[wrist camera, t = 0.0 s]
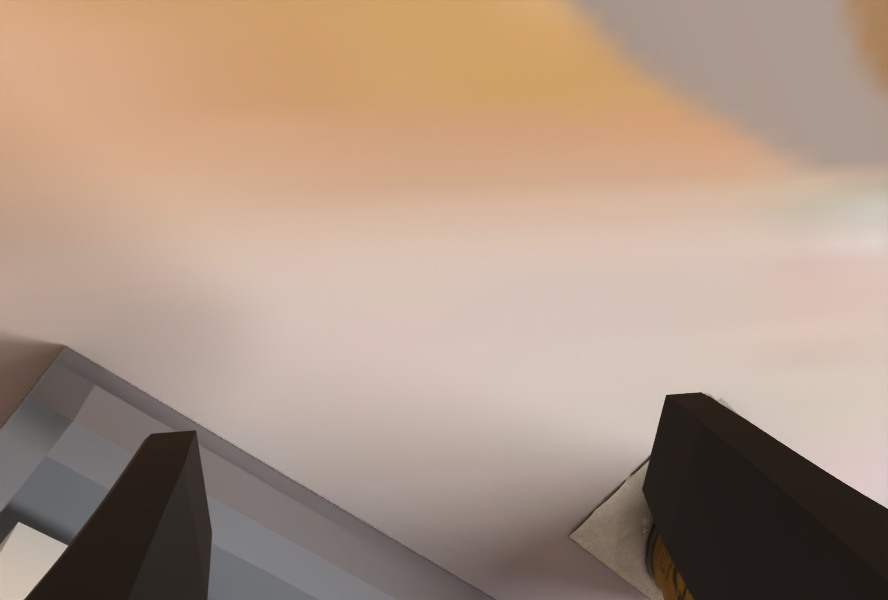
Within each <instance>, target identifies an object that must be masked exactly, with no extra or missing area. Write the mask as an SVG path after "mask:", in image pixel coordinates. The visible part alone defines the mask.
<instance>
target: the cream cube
mask: <svg viewBox="0 0 888 600" xmlns="http://www.w3.org/2000/svg"><path fill="white" fill-rule="evenodd" d="M67 547H68V545H66V544H64V543H62V542H59V541H57V540H55V539H53V538H51V537H49V536H47V535H45V534H43V533H41V532H39V531H37V530H35V529H32V528H30V527H28V526H26V525H24V524H22V523H20V522H18V523H17V524H16V526H15V527H14V528H13V529H12V530H11V532H10V533H9V534H8V535H7V537H6V538H5V539H4V540H3V542H2V543H1V544H0V600H24V599H25V598H26V597H27V595H28V594H29V593H30V592H31V591H32V589H33V588H34V587H35V586H36V585H37V584H38V582H39V581H40V580H41V579H42V578H43V576H44V575H45V574H46V573H47V572H48V571H49V569H50V568H51V567H52V566H53V565H54V563H55V562H56V561H57V560H58V558H59V557H60V556H61V555H62V553H63V552H64V551H65V549H66V548H67Z"/></svg>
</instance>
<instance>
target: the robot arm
mask: <svg viewBox="0 0 888 600" xmlns="http://www.w3.org/2000/svg"><path fill="white" fill-rule="evenodd" d="M642 491H643V494H644V496H645V499H646V502H647V504H648V507H649V509H650V512H651V515H652V517H653V520H654V522H655V525H656V527H657V530H658V532H659V534H660V537H661V539H662V541H663V544H664V546H665V548H666V550H667V552H668V554H669V556H670V557H671V559H672V561H673V563H674V565H675V567H676V568H677V570H678V572H679V574H680V576H681V577H682V579H683V581H684V583H685V585H686V586H687V588H688V590H689V592H690V594H691V595H692V597H693V599H694V600H888V509H887V508H885V507H884V506H882V505H880V504H879V503H877V502H875V501H873V500H872V499H870V498H868V497H867V496H865V495H863V494H861V493H860V492H858V491H857V490H855V489H853V488H852V487H850V486H848V485H847V484H845V483H843V482H842V481H840V480H839V479H837V478H835V477H834V476H832V475H831V474H829V473H827V472H826V471H824V470H823V469H821V468H819V467H818V466H816V465H815V464H813V463H812V462H810V461H809V460H807V459H805V458H804V457H802V456H801V455H799V454H798V453H796V452H795V451H793V450H792V449H790V448H788V447H787V446H785V445H784V444H782V443H781V442H779V441H778V440H776V439H775V438H773V437H772V436H770V435H769V434H767V433H766V432H764V431H763V430H761V429H759V428H758V427H756V426H755V425H753V424H752V423H750V422H749V421H747V420H746V419H744V418H743V417H741V416H739V415H738V414H736V413H735V412H733V411H732V410H730V409H728V408H727V407H725V406H724V405H722V404H720V403H719V402H717V401H715V400H714V399H712V398H710V397H709V396H707V395H705V394H703V393H701V392H699V393H686V394H673V395H666V398H665V402H664V406H663V409H662V413H661V417H660V421H659V425H658V429H657V433H656V437H655V441H654V445H653V448H652V452H651V456H650V460H649V464H648V468H647V472H646V476H645V480H644V484H643V487H642ZM211 544H212V528H211V522H210V515H209V509H208V503H207V496H206V490H205V483H204V477H203V470H202V464H201V457H200V451H199V445H198V438H197V432H196V430H193V431H179V432H166V433H153V434H150V435H149V436H148V437H147V438H146V439H145V440H144V441H143V442H142V444H141V446H140V447H139V449H138V450H137V452H136V453H135V455H134V456H133V458H132V459H131V461H130V462H129V463H128V465H127V466H126V468H125V469H124V471H123V472H122V474H121V475H120V477H119V478H118V479H117V481H116V482H115V484H114V485H113V487H112V488H111V489H110V491H109V492H108V494H107V495H106V496H105V498H104V499H103V501H102V502H101V503H100V505H99V506H98V507H97V509H96V510H95V512H94V513H93V514H92V515H91V517H90V518H89V519H88V521H87V522H86V523H85V525H84V526H83V527H82V529H81V530H80V531H79V532H78V534H77V535H76V536H75V538H74V539H73V540H72V542H71V543H70V544H69V546H68V547H67V548H66V549H65V551H64V552H63V553H62V555H61V556H60V557H59V558H58V560H57V561H56V562H55V563H54V565H53V566H52V567H51V568H50V569H49V571H48V572H47V573H46V574H45V575H44V576H43V578H42V579H41V580H40V581H39V582H38V584H37V585H36V586H35V587H34V588H33V589H32V591H31V592H30V593H29V594H28V595H27V597H26V598H25V599H24V600H207V599H208V586H209V573H210V559H211Z"/></svg>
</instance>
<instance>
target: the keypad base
mask: <svg viewBox="0 0 888 600" xmlns="http://www.w3.org/2000/svg"><path fill="white" fill-rule="evenodd" d="M193 430H196V432H197V438H198V445H199V451H200V457H201V464H202V470H203V477H204V483H205V490H206V496H207V503H208V509H209V515H210V522H211V528H212V544H211V559H210V573H209V586H208V599H207V600H495V599H493V598H492V597H490V596H488V595H486V594H485V593H483V592H481V591H480V590H478V589H476V588H475V587H473V586H471V585H470V584H468V583H466V582H464V581H463V580H461V579H459V578H458V577H456V576H454V575H453V574H451V573H449V572H448V571H446V570H444V569H442V568H441V567H439V566H437V565H436V564H434V563H432V562H431V561H429V560H427V559H426V558H424V557H422V556H420V555H419V554H417V553H415V552H414V551H412V550H410V549H409V548H407V547H405V546H404V545H402V544H400V543H398V542H397V541H395V540H393V539H392V538H390V537H388V536H387V535H385V534H383V533H382V532H380V531H378V530H376V529H375V528H373V527H371V526H370V525H368V524H366V523H365V522H363V521H361V520H360V519H358V518H356V517H354V516H353V515H351V514H349V513H348V512H346V511H344V510H343V509H341V508H339V507H338V506H336V505H334V504H332V503H331V502H329V501H327V500H326V499H324V498H322V497H321V496H319V495H317V494H316V493H314V492H312V491H311V490H309V489H307V488H305V487H304V486H302V485H300V484H299V483H297V482H295V481H294V480H292V479H290V478H289V477H287V476H285V475H283V474H282V473H280V472H278V471H277V470H275V469H273V468H272V467H270V466H268V465H267V464H265V463H263V462H261V461H260V460H258V459H256V458H255V457H253V456H251V455H250V454H248V453H246V452H245V451H243V450H241V449H239V448H238V447H236V446H234V445H233V444H231V443H229V442H228V441H226V440H224V439H223V438H221V437H219V436H217V435H216V434H214V433H212V432H211V431H209V430H207V429H206V428H204V427H202V426H201V425H199V424H197V423H195V422H194V421H192V420H190V419H189V418H187V417H185V416H184V415H182V414H180V413H179V412H177V411H175V410H173V409H172V408H170V407H168V406H167V405H165V404H163V403H162V402H160V401H158V400H157V399H155V398H153V397H151V396H150V395H148V394H146V393H145V392H143V391H141V390H140V389H138V388H136V387H135V386H133V385H131V384H129V383H128V382H126V381H124V380H123V379H121V378H119V377H118V376H116V375H114V374H113V373H111V372H109V371H107V370H106V369H104V368H102V367H101V366H99V365H97V364H96V363H94V362H92V361H91V360H89V359H87V358H85V357H84V356H82V355H80V354H79V353H77V352H75V351H74V350H72V349H70V348H69V347H67V346H65V347H64V348H63V350H62V351H61V352H60V353H59V355H58V356H57V357H56V359H55V360H54V361H53V362H52V364H51V365H50V366H49V368H48V369H47V370H46V371H45V373H44V374H43V375H42V377H41V378H40V379H39V380H38V382H37V383H36V384H35V386H34V387H33V388H32V389H31V391H30V392H29V393H28V395H27V396H26V397H25V398H24V400H23V401H22V402H21V404H20V405H19V406H18V407H17V409H16V410H15V411H14V413H13V414H12V415H11V416H10V418H9V419H8V420H7V421H6V423H5V424H4V425H3V427H2V428H1V429H0V544H1V543H2V542H3V540H4V539H5V538H6V537H7V535H8V534H9V533H10V532H11V530H12V529H13V528H14V527H15V526H16V524H17V523H18V522H20V523H22V524H24V525H26V526H28V527H30V528H32V529H35V530H37V531H39V532H41V533H43V534H45V535H47V536H49V537H51V538H53V539H55V540H57V541H59V542H62V543H64V544H66V545H68V546H69V544H70V543H71V542H72V540H73V539H74V538H75V536H76V535H77V534H78V532H79V531H80V530H81V529H82V527H83V526H84V525H85V523H86V522H87V521H88V519H89V518H90V517H91V515H92V514H93V513H94V512H95V510H96V509H97V507H98V506H99V505H100V503H101V502H102V501H103V499H104V498H105V496H106V495H107V494H108V492H109V491H110V489H111V488H112V487H113V485H114V484H115V482H116V481H117V479H118V478H119V477H120V475H121V474H122V472H123V471H124V469H125V468H126V466H127V465H128V463H129V462H130V461H131V459H132V458H133V456H134V455H135V453H136V452H137V450H138V449H139V447H140V446H141V444H142V442H143V441H144V440H145V439H146V438H147V437H148V436H149V435H150V434H153V433H166V432H179V431H193Z"/></svg>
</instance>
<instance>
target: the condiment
mask: <svg viewBox="0 0 888 600" xmlns="http://www.w3.org/2000/svg"><path fill="white" fill-rule="evenodd" d="M717 402H719V403H720V404H722V405H724V406H725V407H727V408H728V409H730V410H732V411H733V412H735V411H734V410H733V409H732V408H731V407H730V406H729V405H728V404H727V403H726V402H725V401H724V400H723V399H722V398H721V399H720V400H718V401H717ZM735 413H736V412H735ZM736 414H737V413H736ZM648 464H649V461H648V462H647V463H646V464H645V465H643V466H642V467H641V468H640V469H639V470H638V471H637V472H636V473H635V474H633V475H630V477H629V478H627V479H626V481H625V483H624V484H623V485H622V486H621V487H620V489H619V490H617V491H616V493H615V494H613V495H612V496H611V497H610V498H609V499H608V500H607V501H606V502H604V503H603V504H602V505H601V506H599V507H598V508H597V509H596V510H595V511H594V512H593V513H592V515H591V516H590V517H589V518H588V519H587V520H586V521H585V522H584V523H583V524H582V525H581V526H580V527H579V528H578V529H577V530H576V531H574V532H573V533H572V534H571V535H570V536H569V537H570V538H571V539H573V540H574V541H575V542H577V543H578V544H579V545H580V546H581V547H583V548H584V549H585V550H586V551H588V552H589V553H591V554H592V555H594V556H595V557H596V558H597V559H598V560H599V561H601V562H602V563H603V564H604V565H606V566H607V567H609V568H610V569H612V570H613V571H614V572H615V573H616V574H617V575H619V576H620V577H621V578H622V579H624V580H626V581H627V582H628V583H629V584H631V585H632V586H633V587H635V588H636V589H638V590H639V591H640V592H642V593H643V594H644V595H646V596H647V597H648V598H650V599H651V600H694V599H693V597H692V595H691V594H690V592H689V590H688V588H687V586H686V585H685V583H684V581H683V579H682V577H681V576H680V574H679V572H678V570H677V568H676V567H675V565H674V563H673V561H672V559H671V557H670V556H669V554H668V552H667V550H666V548H665V546H664V544H663V541H662V539H661V537H660V534H659V532H658V530H657V527H656V525H655V522H654V520H653V517H652V515H651V512H650V509H649V507H648V504H647V502H646V499H645V496H644V494H643V491H642V487H643V484H644V480H645V476H646V472H647V468H648ZM644 516H645V517H647V523H646V525H645V526H644V525H642V518H643V517H644ZM644 527H647V532H646V533H645V534H644V535H643V533H642V531H643V528H644Z"/></svg>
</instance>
